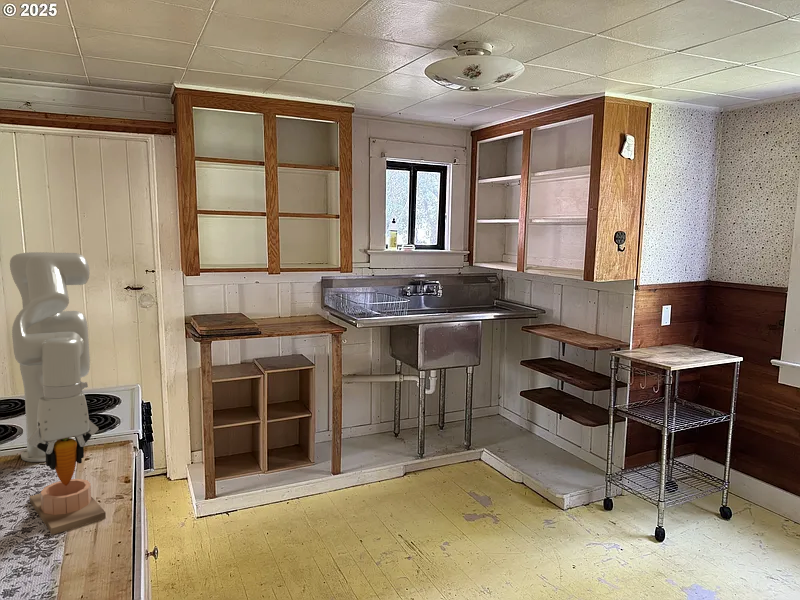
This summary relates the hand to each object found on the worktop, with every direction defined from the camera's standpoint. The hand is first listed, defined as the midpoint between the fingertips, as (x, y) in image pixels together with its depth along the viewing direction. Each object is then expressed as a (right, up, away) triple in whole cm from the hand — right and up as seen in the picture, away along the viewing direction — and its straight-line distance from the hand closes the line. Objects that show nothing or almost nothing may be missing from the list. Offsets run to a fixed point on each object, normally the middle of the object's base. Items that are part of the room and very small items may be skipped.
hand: (65, 464), depth 132 cm
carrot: (0, -6, +1) cm, 6 cm away
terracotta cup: (0, -10, +1) cm, 10 cm away
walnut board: (-1, -12, +1) cm, 12 cm away
